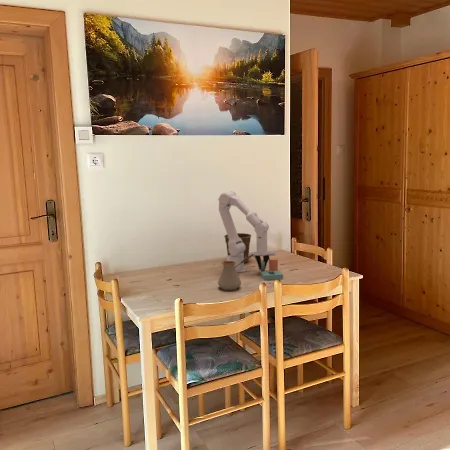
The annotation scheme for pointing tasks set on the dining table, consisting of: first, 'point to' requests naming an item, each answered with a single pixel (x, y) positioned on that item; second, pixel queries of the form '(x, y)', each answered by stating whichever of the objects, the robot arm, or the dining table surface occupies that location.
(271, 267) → the square peg
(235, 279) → the coffee pot
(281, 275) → the slot block
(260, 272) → the steel bar
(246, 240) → the plant pot
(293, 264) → the dining table surface
